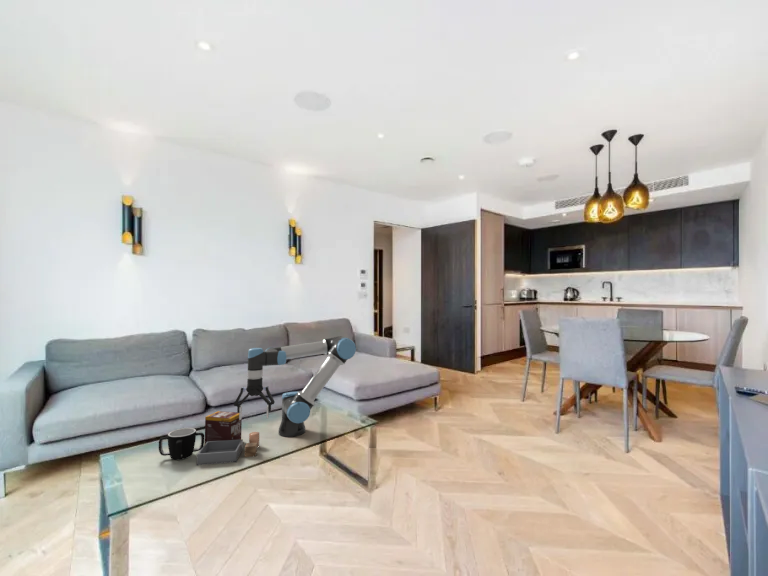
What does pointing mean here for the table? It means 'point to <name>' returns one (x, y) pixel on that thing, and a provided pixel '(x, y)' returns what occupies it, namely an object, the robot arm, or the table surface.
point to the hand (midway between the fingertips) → (254, 418)
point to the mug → (181, 443)
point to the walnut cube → (250, 449)
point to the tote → (220, 452)
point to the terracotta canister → (254, 438)
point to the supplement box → (222, 426)
